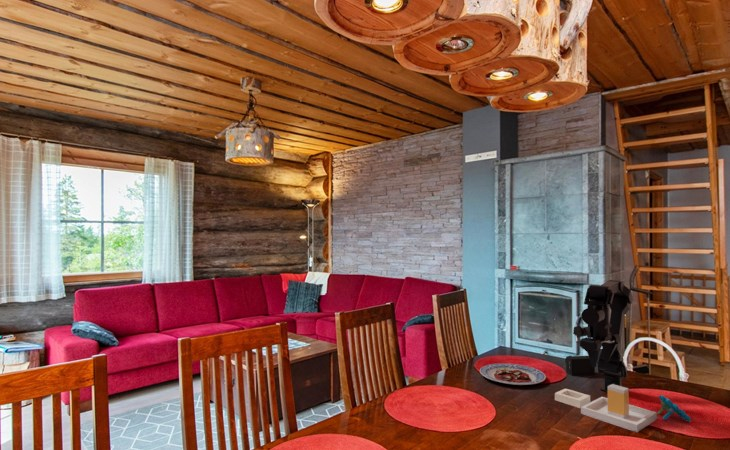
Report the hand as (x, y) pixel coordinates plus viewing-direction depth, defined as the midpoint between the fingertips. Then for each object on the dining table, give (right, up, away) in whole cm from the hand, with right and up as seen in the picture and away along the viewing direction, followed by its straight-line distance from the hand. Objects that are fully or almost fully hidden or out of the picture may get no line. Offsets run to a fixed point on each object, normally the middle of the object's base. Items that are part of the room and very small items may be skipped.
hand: (600, 364), depth 157 cm
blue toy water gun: (+16, -13, -15) cm, 25 cm away
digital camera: (+8, -14, +31) cm, 34 cm away
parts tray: (-1, -13, -13) cm, 18 cm away
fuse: (-1, -12, -13) cm, 18 cm away
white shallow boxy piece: (-10, -13, 0) cm, 16 cm away
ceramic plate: (-23, -14, +25) cm, 37 cm away
